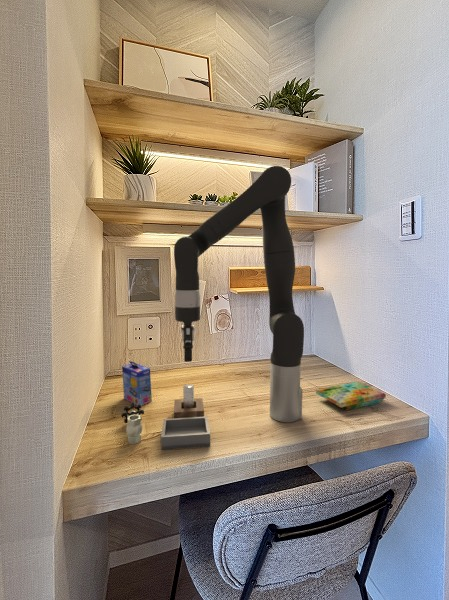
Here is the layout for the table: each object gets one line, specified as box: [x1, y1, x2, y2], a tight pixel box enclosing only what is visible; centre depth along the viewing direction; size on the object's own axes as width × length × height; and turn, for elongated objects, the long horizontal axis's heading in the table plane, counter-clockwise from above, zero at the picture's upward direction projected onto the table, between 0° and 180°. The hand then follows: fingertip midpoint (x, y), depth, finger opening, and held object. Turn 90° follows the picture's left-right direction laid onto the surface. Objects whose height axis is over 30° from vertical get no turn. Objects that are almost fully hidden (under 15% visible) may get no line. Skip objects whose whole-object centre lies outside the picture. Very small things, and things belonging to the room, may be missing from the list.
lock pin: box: [182, 384, 195, 409], centre depth 96 cm, size 3×3×10 cm
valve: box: [120, 402, 145, 445], centre depth 87 cm, size 7×7×12 cm
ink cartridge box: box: [121, 360, 153, 406], centre depth 108 cm, size 10×6×14 cm, turn 51°
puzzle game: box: [315, 381, 387, 411], centre depth 107 cm, size 12×5×20 cm
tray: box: [160, 415, 211, 451], centre depth 84 cm, size 13×10×4 cm
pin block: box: [173, 397, 205, 419], centre depth 96 cm, size 9×9×4 cm
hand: (188, 357), depth 94 cm, fingers open, 8 cm apart
